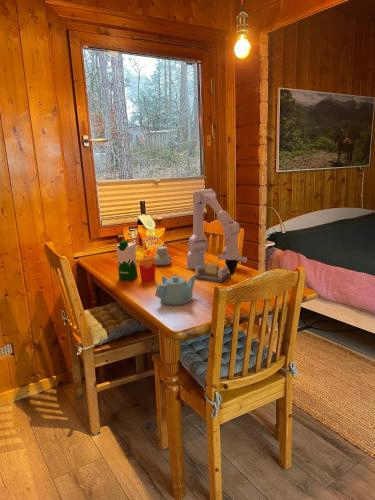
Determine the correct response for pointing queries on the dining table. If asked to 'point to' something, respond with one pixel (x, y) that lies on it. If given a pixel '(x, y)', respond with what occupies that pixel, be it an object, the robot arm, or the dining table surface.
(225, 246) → the coffee cup
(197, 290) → the dining table surface
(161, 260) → the air freshener
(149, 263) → the french fries
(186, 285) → the teapot
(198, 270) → the vise base
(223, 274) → the free jaw
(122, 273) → the milk carton
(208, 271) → the brass block
